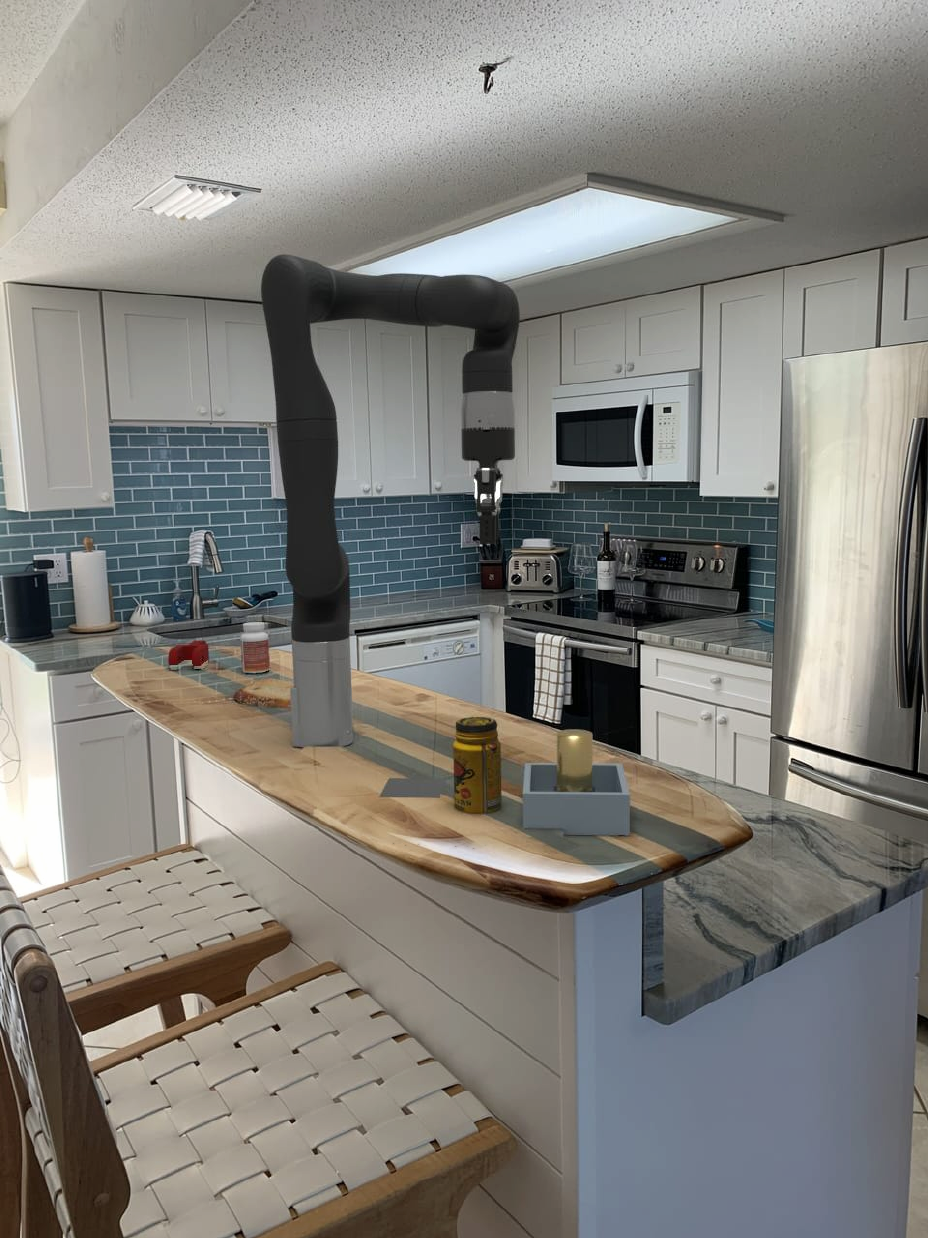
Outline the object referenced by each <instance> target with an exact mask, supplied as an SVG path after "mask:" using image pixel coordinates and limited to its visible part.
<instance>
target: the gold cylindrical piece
mask: <svg viewBox="0 0 928 1238" xmlns="http://www.w3.org/2000/svg"><path fill="white" fill-rule="evenodd" d="M556 763H557V786H554V792H595V787H592V764H593V732H591V731H590V730H589V731H588V730H585V729H573V728H572V729H562V730H559V731H557V732H556Z"/></svg>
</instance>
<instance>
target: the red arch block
mask: <svg viewBox="0 0 928 1238" xmlns="http://www.w3.org/2000/svg"><path fill="white" fill-rule="evenodd" d="M209 652H210V651H209V643H208V644H207V642H206V640H193V641H192V642H190V643H188V644H177V645H175V646H173V647H171V649H170V650H169V651H168V657H167V659H168V661H167V662H168V666H169V665H178V664H179V663H181V662H182V661H184V660H192V664H193V666H201V665H202V664H203V663H204V662H206V661H207V660H208V659H209V660H210V655H209V654H210V653H209ZM193 666H192V667H193Z"/></svg>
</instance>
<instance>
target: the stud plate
mask: <svg viewBox="0 0 928 1238" xmlns="http://www.w3.org/2000/svg"><path fill="white" fill-rule="evenodd" d="M446 780H447V778H423V777H422V778H421V777H420V778H417V777H416V778H414V777H413V778H411V777H410V778H407V777H406V778H405V777H396V778H395V777H392V778H391V777H388V779H387V781H386V783H385V785H384V786H383V789H382V790H381V792H380V794H379V796H378V798H424V799H425V798H430V799H431V798H435V799H436V798H437V799H438V798H441V795H442V791H443V788H444V786H445V783H446Z"/></svg>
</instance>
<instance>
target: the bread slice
mask: <svg viewBox="0 0 928 1238" xmlns="http://www.w3.org/2000/svg"><path fill="white" fill-rule="evenodd" d="M293 686H294V682H293V680H292V681H291V680H282V679H277V678H270V677H266V678H265V679H259V680H257V681H256V682H253V683H251V684H250V685H247V686H245V687H243V688H240V689H237V690H236V691H235V692H234V693H233V695H232V698H234V699H236V700H237V702H238V703H239V702H241V703H245V704H250V705H254V706H253V707H258V706H263V707H262V708H277V707H279V708H280V709H291V699H290V689H291V687H293ZM236 700H235V701H236ZM241 703H240V704H241ZM250 705H249V706H250Z"/></svg>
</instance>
